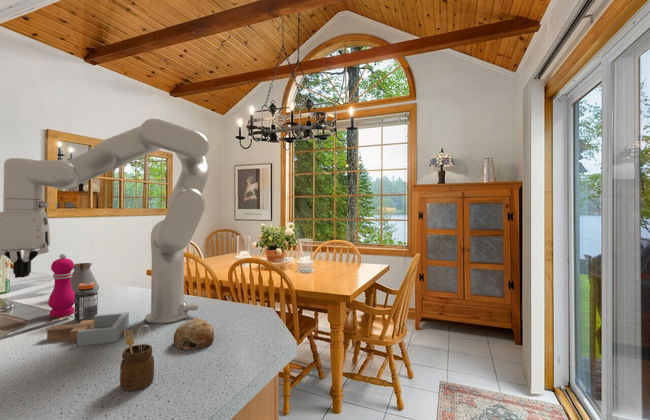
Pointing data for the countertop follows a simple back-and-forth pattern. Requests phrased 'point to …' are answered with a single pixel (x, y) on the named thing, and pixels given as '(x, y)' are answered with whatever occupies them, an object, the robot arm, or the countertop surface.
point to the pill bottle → (86, 302)
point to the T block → (69, 331)
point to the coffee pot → (82, 276)
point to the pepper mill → (62, 288)
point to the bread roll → (194, 335)
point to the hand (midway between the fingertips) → (22, 276)
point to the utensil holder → (136, 364)
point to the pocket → (104, 329)
